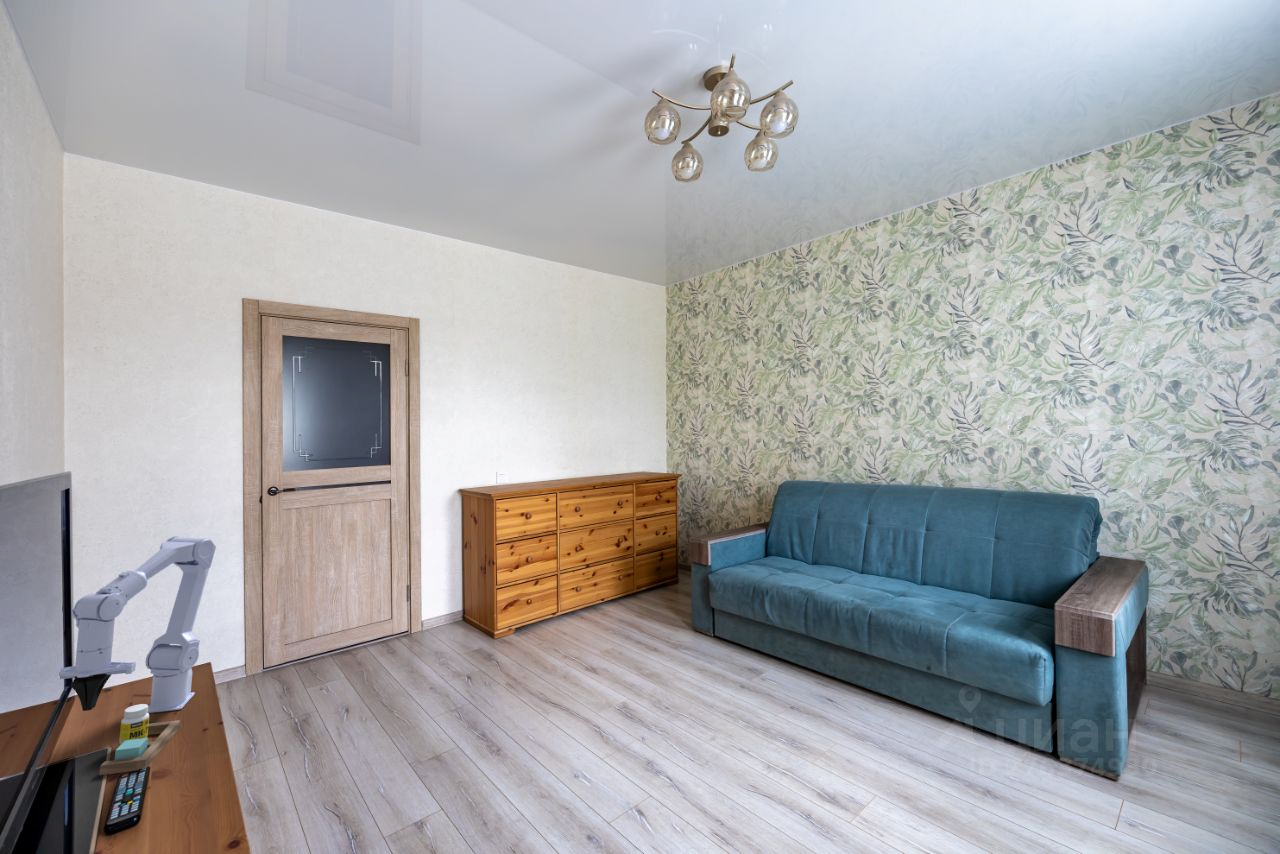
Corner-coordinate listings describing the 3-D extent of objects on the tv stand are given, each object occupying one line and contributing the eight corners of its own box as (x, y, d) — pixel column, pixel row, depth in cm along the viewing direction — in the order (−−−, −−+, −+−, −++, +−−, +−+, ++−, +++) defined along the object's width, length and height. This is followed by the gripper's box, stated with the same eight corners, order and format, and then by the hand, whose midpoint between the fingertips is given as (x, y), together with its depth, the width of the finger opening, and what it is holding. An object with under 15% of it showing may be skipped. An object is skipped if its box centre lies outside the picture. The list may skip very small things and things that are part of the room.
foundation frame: (140, 733, 127) (141, 724, 127) (179, 728, 130) (180, 720, 130) (99, 775, 111) (100, 765, 111) (145, 769, 114) (145, 759, 114)
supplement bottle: (127, 752, 119) (130, 714, 120) (113, 748, 121) (116, 710, 121) (152, 741, 124) (155, 705, 124) (138, 737, 125) (141, 701, 126)
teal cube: (123, 759, 117) (125, 740, 117) (146, 755, 119) (148, 737, 119) (113, 769, 113) (115, 750, 114) (137, 766, 115) (139, 747, 115)
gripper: (39, 657, 114) (33, 722, 113) (126, 650, 119) (121, 712, 119) (60, 645, 120) (54, 706, 120) (142, 639, 126) (136, 698, 125)
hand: (89, 708), depth 120 cm, fingers closed
